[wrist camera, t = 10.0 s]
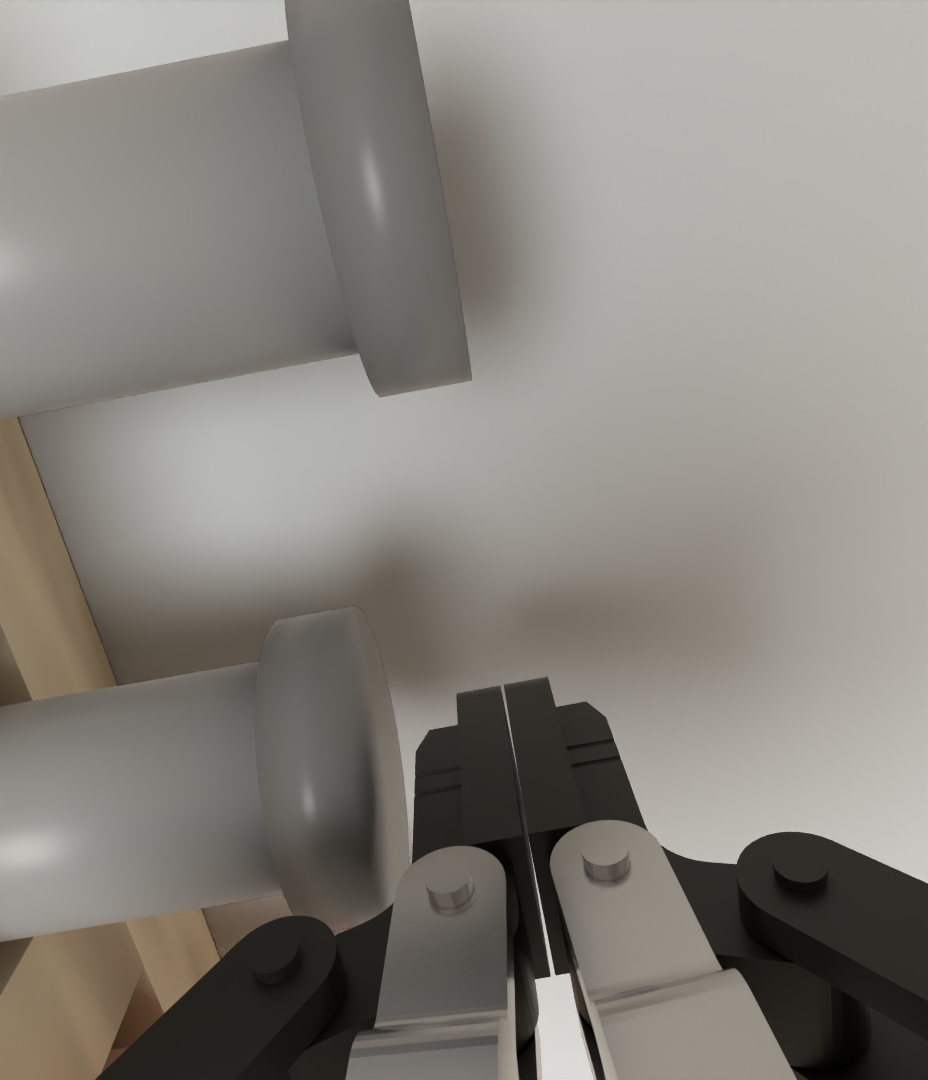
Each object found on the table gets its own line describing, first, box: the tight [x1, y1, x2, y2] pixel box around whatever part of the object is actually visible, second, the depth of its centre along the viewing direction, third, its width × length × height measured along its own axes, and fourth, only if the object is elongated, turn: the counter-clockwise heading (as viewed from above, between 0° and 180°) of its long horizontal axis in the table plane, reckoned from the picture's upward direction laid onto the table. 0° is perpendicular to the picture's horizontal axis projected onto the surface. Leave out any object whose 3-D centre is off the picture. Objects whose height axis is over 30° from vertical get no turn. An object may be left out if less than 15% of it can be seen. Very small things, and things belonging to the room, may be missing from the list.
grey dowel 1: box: [0, 0, 472, 420], centre depth 10 cm, size 11×5×5 cm, turn 100°
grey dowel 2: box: [0, 606, 409, 942], centre depth 13 cm, size 11×5×5 cm, turn 100°
